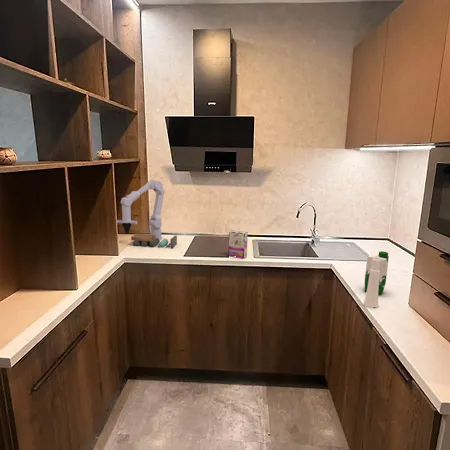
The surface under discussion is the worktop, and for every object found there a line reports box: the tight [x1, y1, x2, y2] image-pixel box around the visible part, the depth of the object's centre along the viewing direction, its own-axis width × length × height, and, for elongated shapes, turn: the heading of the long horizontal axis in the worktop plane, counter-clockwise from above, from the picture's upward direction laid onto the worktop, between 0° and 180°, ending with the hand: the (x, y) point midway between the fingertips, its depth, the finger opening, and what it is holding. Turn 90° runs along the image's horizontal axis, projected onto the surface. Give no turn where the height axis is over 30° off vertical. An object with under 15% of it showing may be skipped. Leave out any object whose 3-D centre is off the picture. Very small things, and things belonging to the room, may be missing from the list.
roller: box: [157, 238, 169, 249], centre depth 231 cm, size 10×4×4 cm
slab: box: [130, 233, 156, 241], centre depth 232 cm, size 10×14×2 cm
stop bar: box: [169, 235, 178, 249], centre depth 230 cm, size 11×2×6 cm, turn 173°
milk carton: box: [364, 250, 389, 296], centre depth 157 cm, size 9×9×20 cm
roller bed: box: [132, 238, 170, 249], centre depth 232 cm, size 10×24×4 cm, turn 83°
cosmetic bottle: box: [363, 256, 380, 309], centre depth 142 cm, size 6×6×22 cm
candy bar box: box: [228, 229, 249, 259], centre depth 209 cm, size 11×5×16 cm, turn 62°
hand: (127, 233), depth 233 cm, fingers closed
